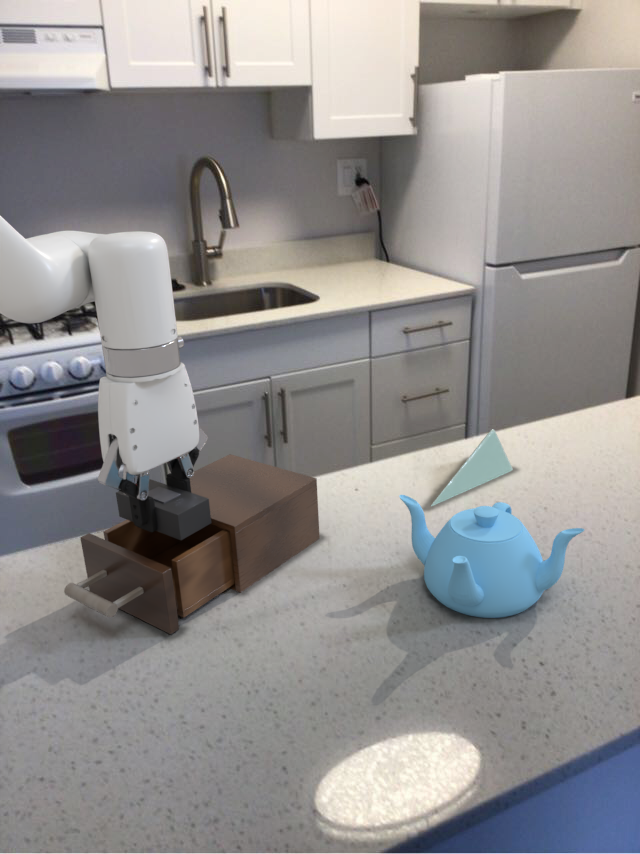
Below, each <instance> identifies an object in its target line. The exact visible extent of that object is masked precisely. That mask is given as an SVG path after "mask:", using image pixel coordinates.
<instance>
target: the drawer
mask: <svg viewBox="0 0 640 854" xmlns="http://www.w3.org/2000/svg"><path fill="white" fill-rule="evenodd" d="M79 539H80V543H81V549H82V555H83V561H84V566H85V572H86V577H87V578H85V579H83V580H81V581H80V582H78V583H74V582H69V583H67V584H66V585H65V587H64V590H63V593H64V595H65V596H67V597H69V598H71V599H72V600H75V601H76V602H78V603H80V604H82V605H84V606H86V607H88V608H90V609H92V610H93V611H96V612H98V613H99V614H102V615H103V616H106V617H107V618H113V617H114V616H116V614H117V613H118V610H121V611H123V612H125V613H127V614H129V615H131V616H133V617H135V618H136V619H137V618H138V619H139V620H140V621H143V622H145V623H147V624H149V625H151V626H153V627H154V628H157V629H159V630H161V631H163V632H165V633H167V634H169V635H172V634H174V633H176V632H177V631H178V630H180V624H179V617H181V618H186V617H187V616H189V615H191V614H192V613H194V612H195V611H196V610H198V609H199V608H201V607H202V606H204V605H205V604H206V603H208V602H210V601H211V600H212V599H214V598H215V597H217V596H219V595H221V594H222V593H224V592H225V591H226V590H228V589H230V588H229V587H231V586H232V585H234V584H235V577H234V566H233V556H232V546H231V536H230V531H228V530H226V529H223V528H220V527H217V526H215V525H212V524H209V525H207V526H206V527H204V528H202V529H200V530H199V531H197V532H195V533H193V534H191V535H190V536H188V537H186V538H184V539H183V540H178V539H176V538H173V537H171V536H168V535H166V534H163V533H160V532H158V531H154V532H149V531H147V530H144V529H141V528H139V527H136V526H135V525H134V522H132V521H129V520H127V519H125V520H123V521H121V522H119V523H118V524H115V525H112V526H110V527H109V528H108V529H105V530H103V538H101V537H99V536H97V535H94V534H92V533H89V532H88V533H86V534H84V535H83V536H80V538H79ZM87 587H88V588H89V590H88V589H87Z"/></svg>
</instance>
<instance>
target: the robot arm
mask: <svg viewBox="0 0 640 854" xmlns="http://www.w3.org/2000/svg"><path fill="white" fill-rule="evenodd" d="M172 283H173V282H172V275H171V266H170V258H169V251H168V245H167V243H166V241H165V239H164V238H163V237H162V236H161V235H159V234H158V233H155V232H152V231H141V230H140V231H138V230H137V231H122V232H121V231H120V232H113V233H107V234H106V233H95V232H88V231H80V230H59V231H54V232H50V233H46V234H39V235H35V236H32V237H28V238H25V237H24V236H23V235H22V234H21V233H19V231H18V230H16V229H15V228H14V227H13V226H12V225H11V224H10V222H8V221H7V220H6V219H5V218H4V217H3V216H1V215H0V315H2V316H4V317H6V318H7V319H10V320H12V321H15V322H18V323H22V324H38V323H39V324H40V323H42V322H46V321H49V320H51V319H53V318H55V317H58V316H60V315H62V314H64V313H66V312H67V311H68V312H69V311H71V310H74V309H76V308H80V307H82V306H85V305H87V304H89V303H93V302H94V304H95V310H96V311H95V312H96V316H97V322H98V330H99V335H100V343H101V349H102V357H103V361H104V369H105V376H102V377H100V378H99V383H98V392H97V393H98V397H97V418H98V432H99V443H100V450H101V458H102V461H103V463H102V466H101V468H100V471H99V474H98V477H97V483H98V484H100V485H103V486H106V487H108V488H113V489H115V490H117V491H121V492H122V493H123V494H125V495H128V496H129V501H130V507H131V514H132V520H133V522H134V525H135V526H136V527H139V528H141V529H144V530H147V531H149V532H154V531H156V530H157V521H156V514H155V504H154V499H153V497H150V496H148V491H149V479H150V474H151V473H150V472H151V471H152V470H153V469H156V468H158V467H160V466H162V465H165V464H167V468H168V470H169V472H170V473H167V474H166V477H165V479H166V485H169V486H172V487H175V488H178V489H181V490H184V491H188V492H191V485H190V478H191V477H192V476H193V475H194V471H195V469H194V466H195V464H196V463H197V461H198V458H199V457H200V452H201V451H202V450H203V448H204V447H205V445H206V443H207V442H208V439H209V436H208V435H207V433H206V432H205V431H204V430H203V429H202V428H201V426H200V425H199V418H198V411H197V406H196V400H195V396H194V395H195V394H194V391H193V388H192V384H191V379H190V377H189V374H188V370H187V368H186V365H185V363H184V362H182V361H181V353H180V350H181V349H182V348H184V346H185V341H184V339H183V337H182V336H181V335H178V327H177V318H176V310H175V299H174V292H173V284H172ZM121 466H123V469H122V470H123V472H122V477H121V476H119V473H120V469H121ZM135 483H137V485H136V484H135Z"/></svg>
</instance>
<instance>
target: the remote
mask: <svg viewBox="0 0 640 854" xmlns="http://www.w3.org/2000/svg"><path fill="white" fill-rule="evenodd" d="M135 484H136V485H137V482H135ZM148 496H150V497H153V499H154V504H155V514H156V521H157V530H156V531H158V532H160V533H163V534H166V535H168V536H171V537H173V538H176V539H178V540H183V539H184V538H186V537H188V536H190V535H191V534H193V533H195V532H197V531H199V530H200V529H202V528H204V527H206V526H207V525H209V524H211V515H210V505H209V498H206V497H203V496H200V495H197V494H194V493H191V492H188V491H184V490H181V489H178V488H175V487H172V486H169V485H167V483H163V482H160V481H158V480H154V479H150V478H149V491H148ZM115 497H116V503H117V510H118V516H119V518H122V519H125V520H129V521H132V522H133V520H132V514H131V507H130V501H129V496H128V495H125V494H123V493H122V492H121V491H119V490H117V491H116V492H115Z"/></svg>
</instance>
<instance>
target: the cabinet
mask: <svg viewBox="0 0 640 854" xmlns="http://www.w3.org/2000/svg"><path fill="white" fill-rule="evenodd" d="M317 480H318V479H317V477H313V476H310V475H307V474H302V473H299V472H296V471H293V470H288V469H285V468H281V467H278V466H274V465H270V464H267V463H264V462H260V461H257V460H256V461H255V460H252V459H249V458H245V457H241V456H239V455H234V454H231V453H229V454H227V455H225V456H223V457H221V458H219V459H217V460H215V461H213V462H211V463H208V464H207V465H205V466H202V467H200V468H198V469H196V470H194V475H193V476H192V477H191V478H190V485H191V493H194V494H197V495H200V496H203V497H206V498H209V505H210V515H211V524H212V525H215V526H217V527H220V528H223V529H226V530H228V531H230V536H231V546H232V556H233V566H234V577H235V584H234V585H232V586H231V587H229V588H228V589H230V590H232V591H235V592H237V593H240V594H242V593H244V591H246V590H247V589H249V588H250V587H252V586H254V585H255V584H257V583H258V582H259V581H260V580H262V579H263V578H265V577H266V576H268V575H269V574H270V573H272V572H273V571H275V570H277V569H278V568H280V567H281V566H282V565H284V564H285V563H286V562H288V561H290V560H292V559H293V558H295V556H297V555H298V554H299V553H300V554H301V552H302V551H304V550H306V549H307V548H308V547H310V546H311V545H313V544H314V543H315V542H317V541H318V540H320V537H321V535H320V521H319V517H320V516H319V499H318V498H319V497H318V481H317Z"/></svg>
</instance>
